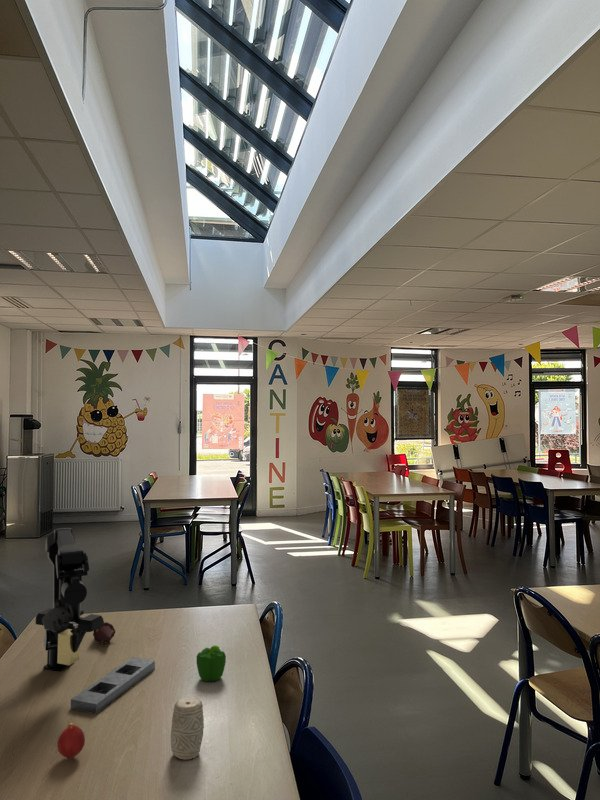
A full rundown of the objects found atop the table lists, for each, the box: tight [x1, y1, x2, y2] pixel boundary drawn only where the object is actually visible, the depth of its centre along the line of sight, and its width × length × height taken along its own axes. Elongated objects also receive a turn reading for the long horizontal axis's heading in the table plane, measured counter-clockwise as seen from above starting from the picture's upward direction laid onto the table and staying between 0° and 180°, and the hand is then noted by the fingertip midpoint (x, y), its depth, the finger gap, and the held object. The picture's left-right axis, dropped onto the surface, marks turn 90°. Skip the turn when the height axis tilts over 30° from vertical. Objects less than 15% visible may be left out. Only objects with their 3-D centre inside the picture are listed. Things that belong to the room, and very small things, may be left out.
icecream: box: [92, 620, 116, 644], centre depth 195 cm, size 7×7×15 cm
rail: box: [70, 656, 156, 715], centre depth 163 cm, size 8×28×2 cm, turn 162°
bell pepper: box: [196, 645, 227, 682], centre depth 169 cm, size 8×8×10 cm
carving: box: [170, 696, 205, 761], centre depth 131 cm, size 6×8×12 cm
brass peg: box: [57, 629, 80, 666], centre depth 159 cm, size 4×4×8 cm
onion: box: [56, 722, 86, 760], centre depth 129 cm, size 6×6×8 cm
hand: (68, 650), depth 159 cm, fingers closed on brass peg, 4 cm apart
